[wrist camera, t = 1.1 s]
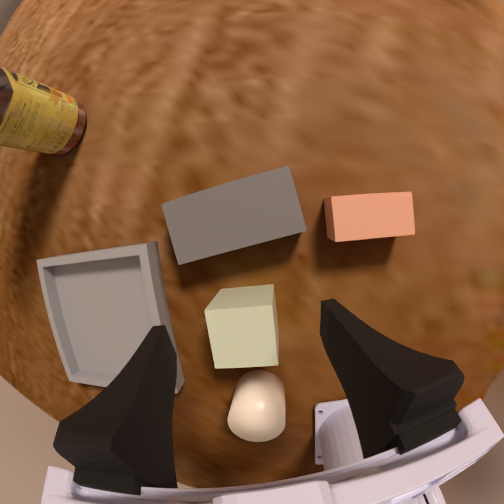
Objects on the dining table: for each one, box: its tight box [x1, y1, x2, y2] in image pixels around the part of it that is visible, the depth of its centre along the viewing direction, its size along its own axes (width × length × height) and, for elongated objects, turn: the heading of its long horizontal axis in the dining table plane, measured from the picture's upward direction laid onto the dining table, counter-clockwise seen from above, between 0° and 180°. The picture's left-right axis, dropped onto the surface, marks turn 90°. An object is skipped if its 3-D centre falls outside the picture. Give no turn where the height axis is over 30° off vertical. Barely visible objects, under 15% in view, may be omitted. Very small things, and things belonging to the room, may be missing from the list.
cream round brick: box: [228, 370, 285, 442], centre depth 23 cm, size 5×5×5 cm
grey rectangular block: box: [162, 166, 307, 265], centre depth 22 cm, size 5×9×4 cm, turn 105°
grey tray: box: [37, 241, 185, 394], centre depth 25 cm, size 14×14×2 cm
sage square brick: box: [205, 284, 279, 368], centre depth 21 cm, size 4×4×6 cm
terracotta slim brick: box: [324, 192, 415, 242], centre depth 21 cm, size 3×6×4 cm, turn 96°
